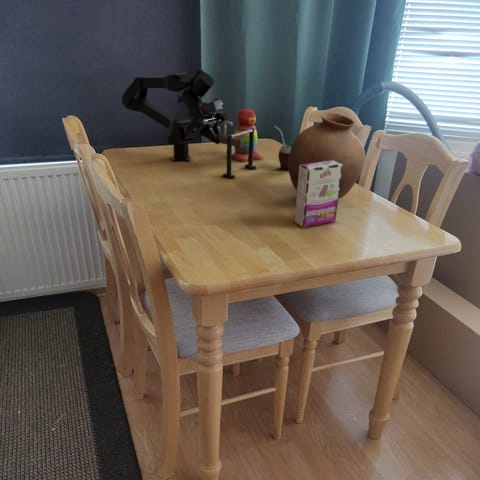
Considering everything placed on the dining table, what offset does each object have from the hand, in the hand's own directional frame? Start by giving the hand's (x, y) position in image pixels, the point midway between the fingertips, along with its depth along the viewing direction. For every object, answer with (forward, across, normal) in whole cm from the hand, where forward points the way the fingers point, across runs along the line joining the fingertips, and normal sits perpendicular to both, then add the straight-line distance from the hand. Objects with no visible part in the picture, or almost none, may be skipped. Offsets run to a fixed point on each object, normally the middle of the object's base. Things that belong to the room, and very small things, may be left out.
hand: (220, 143), depth 172 cm
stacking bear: (+6, +18, +7) cm, 20 cm away
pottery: (+37, -6, -25) cm, 45 cm away
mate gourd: (+20, +15, -7) cm, 26 cm away
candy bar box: (+42, -26, -30) cm, 58 cm away
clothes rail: (+12, 0, 0) cm, 12 cm away
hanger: (+2, 0, -2) cm, 3 cm away
